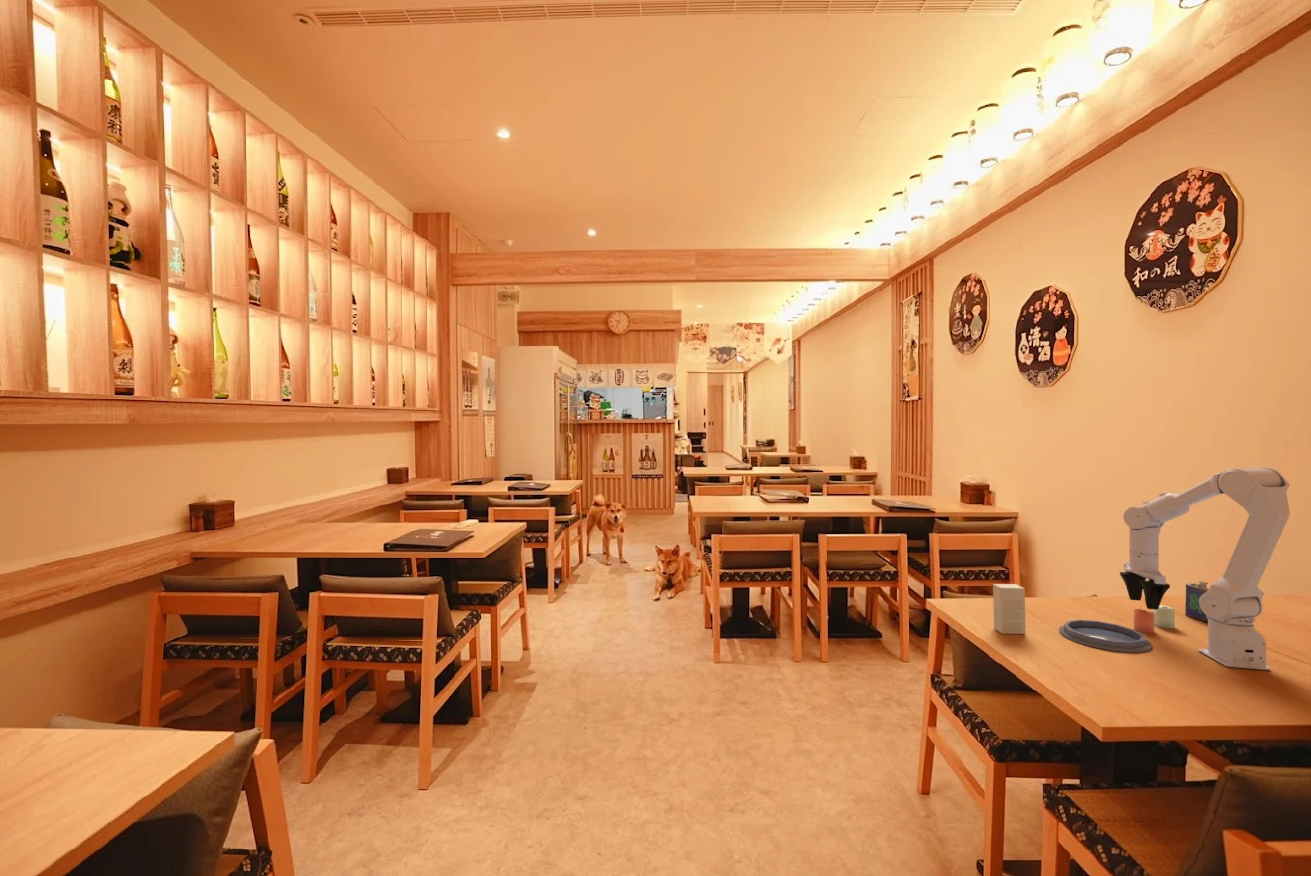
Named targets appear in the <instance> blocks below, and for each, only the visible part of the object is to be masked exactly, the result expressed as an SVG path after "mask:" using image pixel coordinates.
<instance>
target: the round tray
mask: <svg viewBox="0 0 1311 876" xmlns="http://www.w3.org/2000/svg"><path fill="white" fill-rule="evenodd" d="M1058 632H1059V634H1061V636H1063V637H1064V638H1066V639H1068V640H1070V641H1072V642H1075V643H1076V644H1077V643H1078V644H1080V645H1084V646H1087V647H1091V648H1095V649H1098V650H1105V651H1111V652H1116V653H1117V652H1119V653H1130V654H1131V653H1137V654H1138V653H1139V654H1140V653H1144V652H1145V653H1146V652H1149V651H1150V650H1151V649H1152V648H1153V647H1152V643H1151V642H1150V641H1149V640H1148V639H1147V638H1146V635H1145V634H1143V633H1142V632H1139V631H1136V630H1134V628H1133V629H1132V628H1131V627H1127V626H1123V625H1121V624H1117V623H1111V622H1107V621H1105V622H1104V621H1100V620H1089V619H1074V620H1066V622H1065V623H1064V624H1063V625H1062V626H1060V627H1059V629H1058Z"/></svg>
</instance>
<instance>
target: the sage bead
mask: <svg viewBox="0 0 1311 876" xmlns="http://www.w3.org/2000/svg"><path fill="white" fill-rule="evenodd" d="M1153 610H1154V611H1153V612H1154V627H1155V626H1156V627H1159V628H1162V629H1173V630H1174V629H1175V624H1176V623H1175V615H1176V614H1175V608H1174V607H1172V606H1168V605H1162V604H1160V606H1159V608H1158V610H1156V609H1153Z"/></svg>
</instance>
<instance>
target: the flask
mask: <svg viewBox="0 0 1311 876" xmlns="http://www.w3.org/2000/svg"><path fill="white" fill-rule="evenodd" d="M1197 582H1198V583H1199V584H1198V583H1196V582H1195V583H1186V584H1185V613H1184V615H1185V617H1188V618H1192V619H1194V620H1197V621H1200V622H1203V623H1206V624H1208V618H1206V614H1205V613H1204V612H1203V611H1202V609H1201V608H1200V605H1199V599H1200V597H1201V595H1202V594H1204V593H1205V592H1207V591H1208V590H1209V588H1208V587H1207V585H1208V584H1209V583H1208V582H1207V581H1202V580H1198V581H1197Z"/></svg>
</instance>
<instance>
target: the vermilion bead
mask: <svg viewBox="0 0 1311 876" xmlns="http://www.w3.org/2000/svg"><path fill="white" fill-rule="evenodd" d="M1133 630H1136V631H1138V632H1139V633H1142V634H1143V633H1145V634H1154V633H1155V625H1154V611H1152V610H1150V609H1142V608H1134V609H1133Z"/></svg>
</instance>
